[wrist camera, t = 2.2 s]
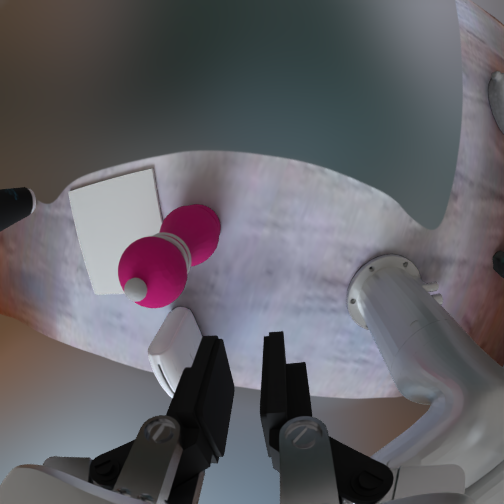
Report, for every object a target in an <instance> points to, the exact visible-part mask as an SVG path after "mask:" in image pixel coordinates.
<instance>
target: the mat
mask: <svg viewBox="0 0 504 504" xmlns="http://www.w3.org/2000/svg"><path fill="white" fill-rule="evenodd" d="M68 193H69V199H70V204H71V209H72V214H73V218H74V223H75V227H76V231H77V235H78V239H79V243H80V247H81V251H82V254H83V258H84V261H85V265H86V268H87V271H88V274H89V277H90V281H91V284H92V287H93V290H94V292H95V295H105V294H125V292H124V291H123V289H122V287H121V285H120V282H119V278H118V265H119V261H120V258H121V256H122V254H123V252H124V251H125V249H126V248H127V247H128V246H129V245H130V244H131V243H133V242H134V241H136V240H138V239H140V238H143V237H148V236H153V235H155V234H157V233H159V231H160V228H161V225H162V223H163V220H162V215H161V210H160V204H159V199H158V193H157V187H156V181H155V175H154V169H153V168H152V169H148V170H143V171H139V172H135V173H131V174H127V175H123V176H120V177H116V178H112V179H109V180H105V181H102V182H98V183H95V184H92V185H88V186H85V187H82V188H79V189H75V190H72V191H69V192H68Z"/></svg>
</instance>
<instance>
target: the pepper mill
mask: <svg viewBox="0 0 504 504" xmlns="http://www.w3.org/2000/svg"><path fill="white" fill-rule="evenodd" d="M219 235H220V222H219V219H218V217H217V215H216V214H215V212H214V211H213V210H212V209H210V208H209V207H207V206H204V205H199V204H194V205H189V206H182V207H179V208H177V209H175V210H173V211H172V212H171V213H170V214H169V215H167V217H166V218H165V219H164V221H163V223H162V225H161V228H160V231H159V233H157V234H155V235H153V236H148V237H143V238H140V239H138V240H136V241H134V242H133V243H131V244H130V245H129V246H128V247H127V248H126V249H125V251H124V252H123V254H122V256H121V258H120V261H119V265H118V278H119V282H120V285H121V287H122V289H123V291H124V292H125V295H126V297H127V298H128V299H129V300H131V301H134V302H135V303H137V304H139V305H141V306H143V307H148V308H160V307H164V306H166V305H169V304H170V303H172V302H173V301H174V300H176V299H177V298H178V297H179V295H180V294H181V293H182V291H183V289H184V287H185V284H186V281H187V274H188V272H189V270H190V267H191V266H195V265H198V264H200V263H202V262H204V261H206V260H207V259H208V258H209V257H210V256H211V255H212V254H213V253H214V251H215V249H216V248H217V244H218V241H219Z"/></svg>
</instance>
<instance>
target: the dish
mask: <svg viewBox="0 0 504 504" xmlns="http://www.w3.org/2000/svg"><path fill="white" fill-rule="evenodd" d="M491 78H492V79H491V81H490V83H489V88H488V93H489V102H490V106H491V109H492V113H493V115H494V118H495V120H496V122H497V125H498V126H499V128H500V130H501V131H502V133H503V134H504V73H500V72H499V71H496V72H494V73H492V75H491Z"/></svg>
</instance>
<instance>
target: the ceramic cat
mask: <svg viewBox="0 0 504 504" xmlns="http://www.w3.org/2000/svg"><path fill="white" fill-rule="evenodd" d="M493 264H494V265H493V269H494V270H495V271H496V272H497V273H498V274H499V275H500V276H501V277H503V278H504V252H502V251H499V252H497V253H496V254H495V255H494V256H493Z"/></svg>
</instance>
